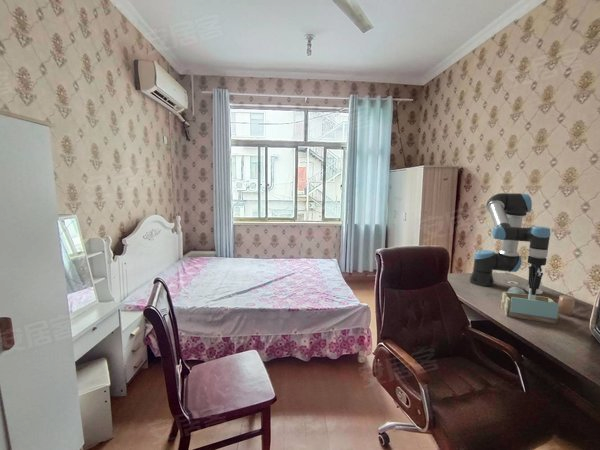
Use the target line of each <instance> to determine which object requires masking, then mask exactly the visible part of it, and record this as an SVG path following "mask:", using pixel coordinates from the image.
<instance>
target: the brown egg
mask: <svg viewBox="0 0 600 450" xmlns="http://www.w3.org/2000/svg"><path fill="white" fill-rule="evenodd" d="M575 302H576V298H574V297H572V296H568V295H564V294H563V295H559V298H558V302H557V303H558V304H559V307H560V313H559V315H560V314H561V315H564V316H570V317H571V316H573V314H574V310H575V309H574V308H575Z"/></svg>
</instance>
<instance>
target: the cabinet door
mask: <svg viewBox="0 0 600 450" xmlns="http://www.w3.org/2000/svg"><path fill="white" fill-rule="evenodd" d="M558 306H559V304H558V302H555V303H553V302H545V301H538V300H530V299H523V298H516V297H511V307H510V313H513V314H520V315H526V316H533V317H539V318H546V319H553V320H557V314H558Z"/></svg>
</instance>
